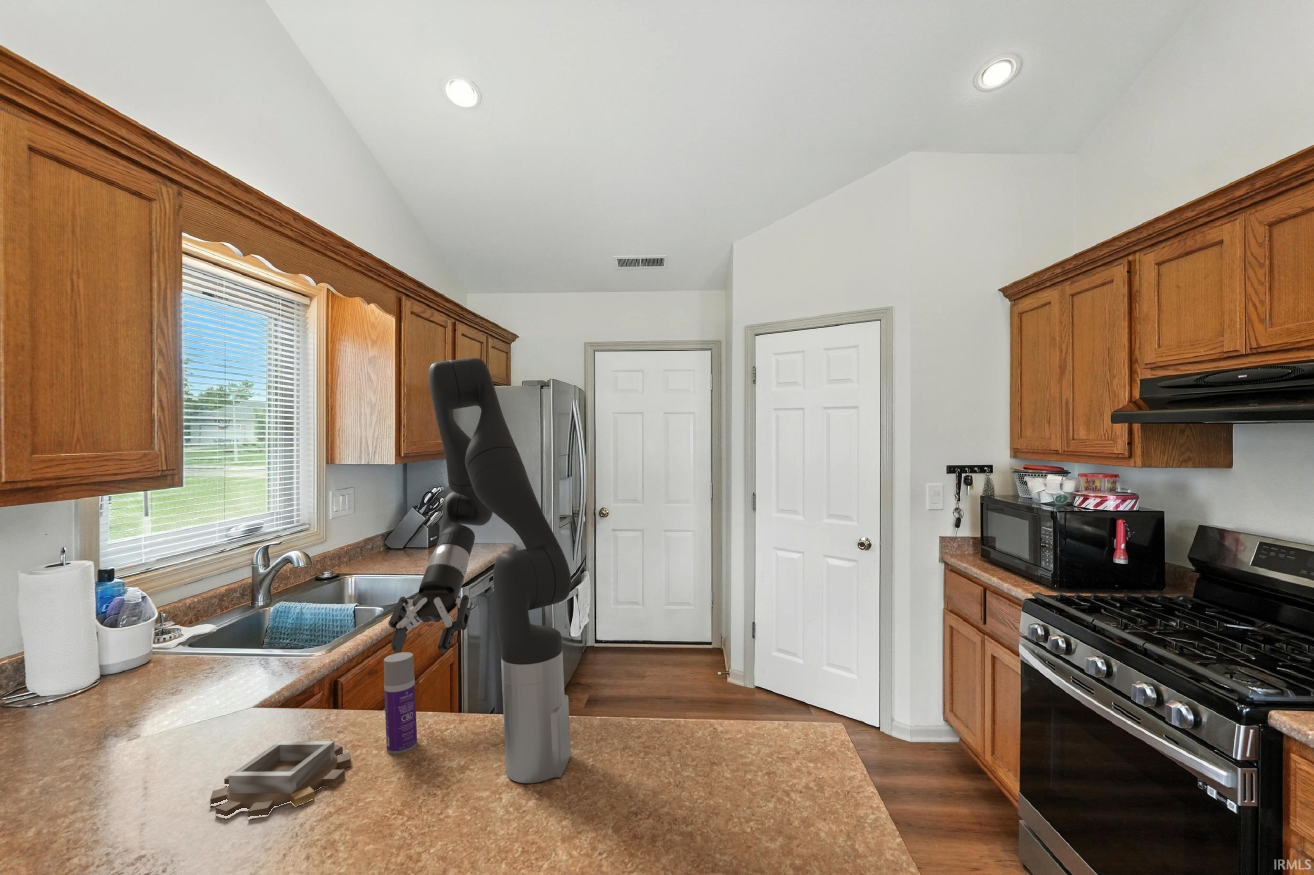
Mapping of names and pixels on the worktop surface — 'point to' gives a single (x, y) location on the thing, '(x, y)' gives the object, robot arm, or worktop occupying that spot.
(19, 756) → the worktop surface
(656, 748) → the worktop surface
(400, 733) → the container
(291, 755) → the sprocket
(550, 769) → the robot arm
